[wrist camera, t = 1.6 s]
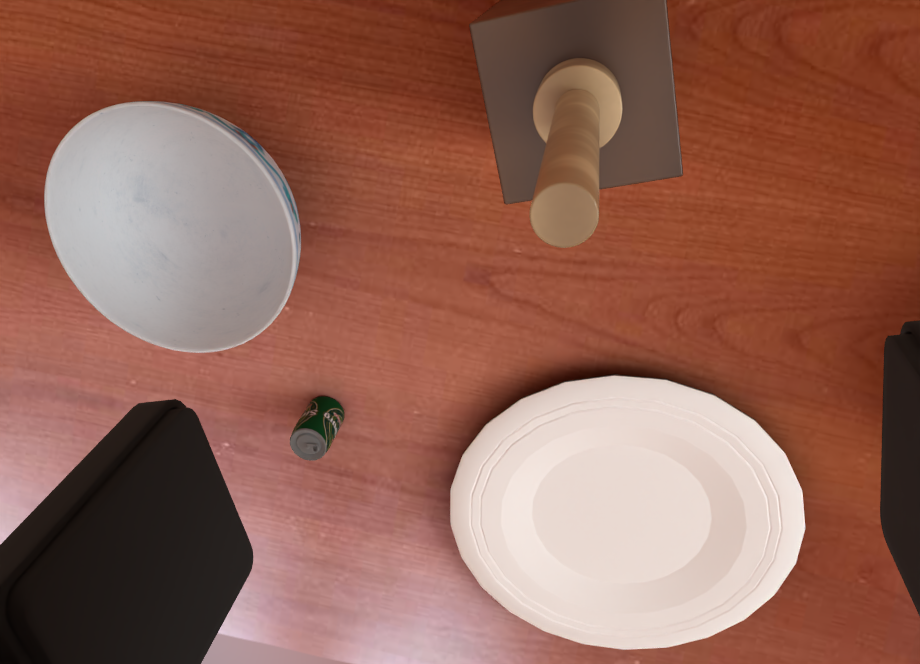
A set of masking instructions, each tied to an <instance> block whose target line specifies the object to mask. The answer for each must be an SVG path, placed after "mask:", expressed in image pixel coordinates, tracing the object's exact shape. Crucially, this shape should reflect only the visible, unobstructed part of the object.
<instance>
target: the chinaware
mask: <svg viewBox="0 0 920 664" xmlns="http://www.w3.org/2000/svg"><path fill="white" fill-rule="evenodd" d="M44 205H45V215H46V221H47V226H48V230H49V234H50V237H51V240H52V243H53V246H54V248H55V251H56V253H57V255H58V258H59V260H60V262H61V264H62V265H63V267H64V269H65V271H66V272H67V274H68V276H69V277H70V279H71V280H72V281H73V283H74V284H75V286H76V287H77V288H78V290H79V291H80V292H81V293H82V294H83V296H84V297H85V298H86V299H87V300H88V301H89V302H90V303H91V304H92V305H93V306H94V307H95V308H96V309H97V310H98V311H99V312H100V313H101V314H103V315H104V316H105V317H106V318H108V319H109V320H110V321H111V322H113V323H114V324H116V325H117V326H119V327H120V328H122V329H123V330H125V331H127V332H128V333H130V334H132V335H134V336H136V337H138V338H140V339H142V340H144V341H147V342H149V343H152V344H154V345H157V346H160V347H164V348H167V349H172V350H177V351H183V352H194V353H205V352H216V351H221V350H226V349H230V348H233V347H236V346H238V345H241V344H243V343H245V342H247V341H249V340H251V339H253V338H254V337H256V336H257V335H259V334H260V333H261V332H263V331H264V330H265V329H266V328H267V327H268V326H269V325H270V324H271V323H272V322H273V321H274V320H275V319H276V317H277V316H278V315H279V313H280V312H281V310H282V309H283V307H284V305H285V303H286V302H287V300H288V297H289V295H290V293H291V290H292V288H293V285H294V282H295V278H296V275H297V271H298V266H299V260H300V252H301V228H300V221H299V215H298V210H297V206H296V203H295V200H294V197H293V194H292V191H291V189H290V187H289V185H288V182H287V180H286V179H285V177H284V175H283V173H282V172H281V170H280V168H279V167H278V165H277V164H276V163H275V161H274V160H273V159H272V157H271V156H270V155H269V154H268V153H267V151H266V150H265V149H264V148H263V147H262V146H261V145H260V144H259V143H258V142H257V141H256V140H254V139H253V138H252V137H251V136H250V135H248V134H247V133H246V132H244V131H243V130H242V129H240V128H239V127H237V126H236V125H234V124H232V123H231V122H229V121H227V120H225V119H223V118H221V117H219V116H217V115H215V114H212V113H210V112H207V111H205V110H202V109H198V108H195V107H191V106H187V105H183V104H177V103H170V102H159V101H138V102H128V103H122V104H117V105H113V106H109V107H107V108H104V109H101V110H99V111H97V112H95V113H93V114H91V115H89V116H87V117H86V118H84V119H83V120H81V121H80V122H79V123H78V124H76V125H75V126H74V127H73V128H72V129H71V130H70V131H69V132H68V133H67V134H66V136H65V137H64V138H63V139H62V141H61V142H60V144H59V145H58V147H57V149H56V151H55V153H54V155H53V157H52V159H51V162H50V165H49V168H48V172H47V176H46V182H45V192H44Z"/></svg>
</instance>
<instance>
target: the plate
mask: <svg viewBox="0 0 920 664" xmlns="http://www.w3.org/2000/svg"><path fill="white" fill-rule="evenodd" d="M450 524H451V528H452V531H453V534H454V537H455V540H456V543H457V546H458V549H459V552H460V555H461V558H462V559H463V561H464V562H465V564H466V565H467V566H468V568H469V569H470V571H471V572H472V574H473V575H474V577H475V578H476V580H477V581H478V583H479V584H480V586H481V587H482V588H483V589H484V590H486V591H487V592H488V593H489V594H490V595H491V596H492V597H493V598H495V599H496V600H497V601H498V602H499V603H500V604H501V605H502V606H504V607H505V608H506V609H507V610H508V611H509V612H511V613H513V614H514V615H516V616H518V617H520V618H521V619H523V620H525V621H527V622H529V623H530V624H532V625H534V626H536V627H537V628H539V629H541V630H543V631H545V632H548V633H551V634H554V635H557V636H560V637H563V638H566V639H569V640H572V641H575V642H579V643H582V644H587V645H594V646H602V647H609V648H617V649H624V650H627V649H647V648H667V647H671V646H675V645H679V644H683V643H687V642H692V641H696V640H700V639H704V638H708V637H710V636H712V635H714V634H716V633H718V632H720V631H722V630H724V629H726V628H728V627H731V626H733V625H735V624H737V623H739V622H741V621H743V620H745V619H746V618H747V617H748V616H750V615H751V614H752V613H753V612H754V611H756V610H757V609H758V608H759V607H760V606H762V605H763V604H764V603H765V602H766V601H768V600H769V599H770V598H771V597H773V596H774V595H775V593H776V592H777V590H778V589H779V587H780V586H781V585H782V583H783V582H784V580H785V579H786V577H787V576H788V574H789V573H790V571H791V570H792V568H793V567H794V565H795V564H796V561H797V557H798V553H799V550H800V546H801V542H802V539H803V535H804V531H805V517H804V505H803V493H802V489H801V487H800V484H799V482H798V480H797V478H796V476H795V474H794V471H793V469H792V467H791V465H790V463H789V461H788V458H787V456H786V454H785V452H784V451H783V450H782V449H781V448H780V447H779V445H778V444H777V443H776V442H775V441H774V440H773V439H772V438H771V437H770V436H769V435H768V434H767V432H766V431H765V430H764V429H763V428H762V427H761V426H760V425H759V424H758V423H757V422H756V420H755V419H753V418H751V417H750V416H748V415H746V414H745V413H743V412H742V411H740V410H738V409H737V408H735V407H734V406H732V405H730V404H729V403H727V402H726V401H724V400H722V399H721V398H719V397H717V396H716V395H714V394H711V393H708V392H705V391H702V390H699V389H696V388H693V387H690V386H687V385H684V384H680V383H677V382H674V381H671V380H668V379H663V378H652V377H640V376H629V375H617V374H613V375H606V376H598V377H591V378H584V379H576V380H569V381H564V382H561V383H559V384H556V385H554V386H551V387H548V388H546V389H543V390H541V391H538V392H536V393H533V394H530V395H528V396H525V397H523V398H521V399H519V400H518V401H516V402H515V403H514V404H512V405H511V406H510V407H508V408H507V409H505V410H504V411H503V412H501V413H500V414H499V415H497V416H496V417H494V418H493V419H492V420H490V421H489V422H487V423H486V425H485V426H484V427H483V428H482V430H481V431H480V432H479V434H478V435H477V436H476V438H475V439H474V440H473V441H472V443H471V444H470V445H469V447H468V448H467V449H466V451H465V452H464V453H463V455H462V458H461V461H460V464H459V466H458V469H457V472H456V475H455V478H454V481H453V484H452V486H451V489H450Z"/></svg>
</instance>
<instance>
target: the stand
mask: <svg viewBox="0 0 920 664" xmlns="http://www.w3.org/2000/svg"><path fill="white" fill-rule="evenodd" d="M469 27H470V32H471V37H472V42H473V47H474V52H475V57H476V62H477V67H478V72H479V77H480V82H481V87H482V93H483V98H484V103H485V108H486V113H487V118H488V123H489V128H490V133H491V138H492V143H493V148H494V153H495V158H496V163H497V168H498V173H499V178H500V184H501V189H502V194H503V199H504V203H505V204H513V203H519V202H525V201H531V200H532V199H533V195H534V191H535V187H536V183H537V179H538V175H539V171H540V167H541V163H542V159H543V155H544V151H545V147H546V143H545V141H544V140H543V139H542V138H541V137H540V135H539V133H538V131H537V129H536V127H535V124H534V119H533V104H534V100H535V96H536V94H537V91H538V88H539V86H540V84H541V82H542V80H543V78H544V77H545V75H546V74H547V73H548V72H549V71H550V70H551V69H552V68H553V67H555V66H556V65H558V64H559V63H561V62H564V61H566V60H569V59H574V58H586V59H591V60H595V61H597V62H599V63H601V64H602V65H604V66H605V67H607V68H608V69H609V70H610V71H611V72H612V74H613V75H614V76H615V78H616V80H617V82H618V84H619V87H620V92H621V98H622V117H621V121H620V124H619V127H618V129H617V131H616V133H615V134H614V136H613V137H612V138H611V139H610V140H609V142H607V143H606V144H605V145H604V146H603V147H601V148H600V149H599V189H606V188H612V187H618V186H624V185H630V184H637V183H643V182H649V181H655V180H661V179H668V178H674V177H680V176H683V168H682V158H681V147H680V137H679V127H678V116H677V106H676V95H675V85H674V74H673V64H672V54H671V43H670V33H669V22H668V12H667V1H666V0H500V1H499V2H498V3H496V4H495V5H494V6H492V7H491V8H490V9H489V10H487V11H486V12H485V13H483V14H482V15H481V16H479V17H478V18H477V19H475V20H474V21H473V22H472V23H470V24H469Z"/></svg>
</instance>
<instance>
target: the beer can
mask: <svg viewBox="0 0 920 664" xmlns="http://www.w3.org/2000/svg"><path fill="white" fill-rule="evenodd" d="M343 420H344V410H343V408H342V406H341V405H340V404H339V403H338V402H337V401H336V400H334V399H332V398H330V397H325V396H322V397H317V398H315V399H313V400H312V401H311V402H310V404H309V405H308V406H307V408H306V410H305V411H304V413H303V414H302V416H301V418H300V419H299V421H298V423H297V424H296V426H295V428H294V430H293V433H292V435H291V437H290V445H291V448H292V450H293V451H294V453H295V454H296V455H298V456H299V457H300V458H303V459H305V460H317V459H320V458H322V457H323V456H324V455H325V453H326V452H327V451H328V449H329V448H330V446H331V444H332V442H333V440H334V438H335V436H336V434H337V432H338V430H339V428H340V426H341V424H342V422H343Z"/></svg>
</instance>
